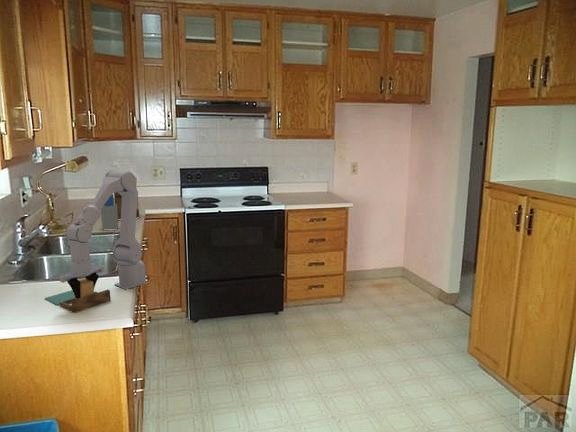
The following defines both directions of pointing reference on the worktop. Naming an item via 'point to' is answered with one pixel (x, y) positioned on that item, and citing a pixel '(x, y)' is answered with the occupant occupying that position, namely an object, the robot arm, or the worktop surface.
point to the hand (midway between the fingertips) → (84, 296)
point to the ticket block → (86, 287)
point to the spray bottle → (109, 214)
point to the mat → (60, 297)
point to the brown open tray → (86, 301)
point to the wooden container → (119, 203)
